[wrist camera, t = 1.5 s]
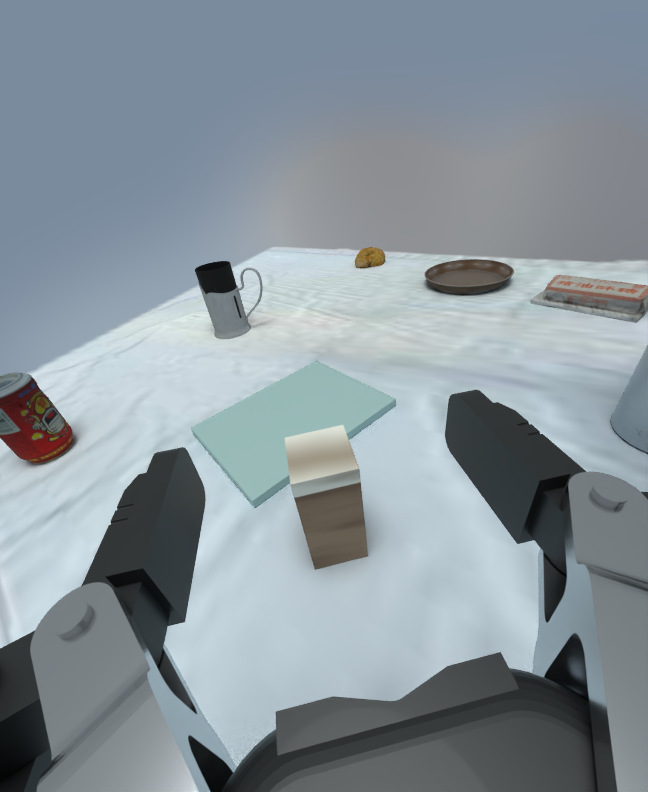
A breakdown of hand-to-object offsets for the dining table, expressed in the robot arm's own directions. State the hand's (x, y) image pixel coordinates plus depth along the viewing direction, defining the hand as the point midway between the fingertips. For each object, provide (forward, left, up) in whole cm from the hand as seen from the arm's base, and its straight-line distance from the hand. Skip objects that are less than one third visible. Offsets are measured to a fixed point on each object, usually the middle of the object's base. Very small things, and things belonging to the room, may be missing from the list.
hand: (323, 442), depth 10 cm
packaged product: (-75, -10, -24) cm, 80 cm away
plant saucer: (-77, -37, -24) cm, 88 cm away
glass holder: (-26, -64, -23) cm, 73 cm away
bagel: (-80, -74, -23) cm, 112 cm away
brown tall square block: (-6, -9, -23) cm, 25 cm away
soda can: (+15, -50, -23) cm, 57 cm away
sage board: (-14, -27, -23) cm, 38 cm away
